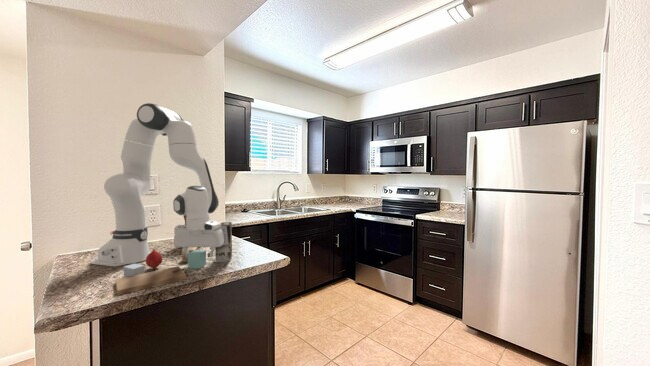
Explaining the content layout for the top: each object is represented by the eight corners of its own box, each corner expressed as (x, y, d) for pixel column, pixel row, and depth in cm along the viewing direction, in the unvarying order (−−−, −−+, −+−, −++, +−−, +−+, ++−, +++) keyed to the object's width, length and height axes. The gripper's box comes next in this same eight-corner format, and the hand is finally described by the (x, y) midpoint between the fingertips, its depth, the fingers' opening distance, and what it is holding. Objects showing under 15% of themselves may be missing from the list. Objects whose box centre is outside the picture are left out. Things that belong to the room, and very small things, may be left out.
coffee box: (230, 261, 117) (230, 225, 117) (215, 262, 116) (214, 226, 115) (232, 255, 126) (232, 221, 126) (218, 256, 125) (217, 222, 124)
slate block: (123, 277, 100) (123, 266, 100) (135, 273, 104) (134, 263, 104) (133, 279, 98) (133, 269, 98) (144, 275, 102) (144, 265, 101)
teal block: (188, 268, 109) (187, 253, 109) (194, 264, 114) (194, 250, 114) (199, 268, 109) (199, 254, 109) (206, 264, 114) (205, 250, 114)
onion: (143, 269, 108) (142, 250, 108) (158, 265, 113) (157, 246, 112) (150, 272, 105) (149, 252, 104) (165, 267, 110) (165, 248, 109)
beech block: (182, 261, 117) (181, 250, 117) (186, 258, 122) (185, 247, 122) (194, 261, 118) (194, 250, 118) (197, 257, 123) (197, 246, 123)
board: (117, 295, 85) (117, 288, 85) (115, 283, 94) (115, 277, 94) (186, 278, 98) (186, 273, 98) (178, 269, 107) (178, 264, 107)
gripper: (169, 226, 109) (171, 259, 110) (218, 226, 108) (219, 259, 109) (178, 223, 115) (180, 254, 116) (224, 223, 114) (226, 254, 115)
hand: (199, 257), depth 112 cm, fingers open, 8 cm apart
